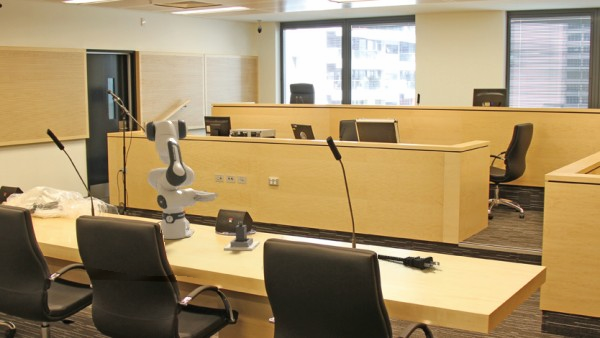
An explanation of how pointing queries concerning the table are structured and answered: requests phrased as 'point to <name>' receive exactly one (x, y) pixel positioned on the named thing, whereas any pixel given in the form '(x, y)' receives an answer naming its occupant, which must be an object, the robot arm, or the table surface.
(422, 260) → the electrical plug
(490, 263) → the table surface
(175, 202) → the robot arm
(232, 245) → the socket
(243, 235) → the dark grey square bottle
